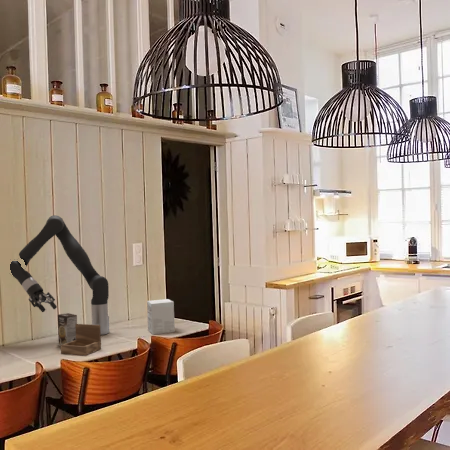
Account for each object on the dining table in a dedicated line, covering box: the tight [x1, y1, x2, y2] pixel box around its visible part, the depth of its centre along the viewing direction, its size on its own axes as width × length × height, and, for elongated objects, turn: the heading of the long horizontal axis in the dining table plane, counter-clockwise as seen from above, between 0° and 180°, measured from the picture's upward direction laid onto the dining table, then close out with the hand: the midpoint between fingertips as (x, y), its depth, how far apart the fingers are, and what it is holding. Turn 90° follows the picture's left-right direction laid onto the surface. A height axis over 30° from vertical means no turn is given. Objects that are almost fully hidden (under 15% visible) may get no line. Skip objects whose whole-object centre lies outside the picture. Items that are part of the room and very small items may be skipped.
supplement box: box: [146, 298, 176, 335], centre depth 283 cm, size 13×13×18 cm
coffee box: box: [57, 312, 78, 347], centre depth 256 cm, size 9×6×16 cm
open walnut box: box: [60, 323, 102, 356], centre depth 243 cm, size 13×14×12 cm
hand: (50, 309), depth 260 cm, fingers open, 8 cm apart
